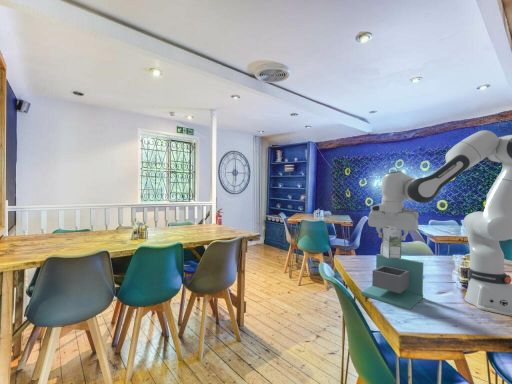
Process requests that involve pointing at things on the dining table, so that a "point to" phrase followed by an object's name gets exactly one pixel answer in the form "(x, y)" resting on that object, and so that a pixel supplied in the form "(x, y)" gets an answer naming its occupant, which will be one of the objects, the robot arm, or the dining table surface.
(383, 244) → the syrup box
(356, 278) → the dining table surface
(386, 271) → the cup bracket
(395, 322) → the dining table surface
